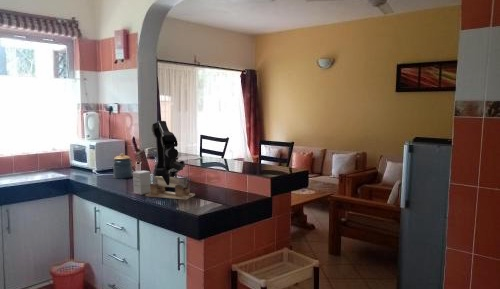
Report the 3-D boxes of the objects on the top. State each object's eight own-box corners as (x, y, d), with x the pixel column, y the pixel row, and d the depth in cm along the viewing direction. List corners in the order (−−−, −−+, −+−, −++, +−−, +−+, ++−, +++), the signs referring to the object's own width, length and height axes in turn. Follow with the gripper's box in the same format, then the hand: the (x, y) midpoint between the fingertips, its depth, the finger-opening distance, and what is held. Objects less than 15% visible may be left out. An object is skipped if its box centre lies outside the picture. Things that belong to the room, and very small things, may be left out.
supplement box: (144, 191, 222) (143, 170, 221) (151, 192, 218) (150, 171, 216) (133, 193, 217) (132, 171, 215) (140, 194, 212) (139, 173, 211)
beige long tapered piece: (155, 192, 217) (155, 180, 217) (195, 195, 209) (194, 183, 208) (145, 196, 208) (144, 184, 207) (186, 199, 199) (185, 186, 199)
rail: (156, 184, 213) (156, 176, 213) (187, 186, 206) (187, 177, 206) (153, 185, 210) (152, 177, 209) (184, 188, 203) (183, 178, 202)
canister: (128, 178, 264) (127, 154, 262) (110, 178, 264) (109, 154, 262) (134, 175, 277) (133, 151, 275) (117, 175, 277) (116, 152, 275)
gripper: (172, 159, 195) (173, 188, 196) (190, 155, 212) (190, 182, 214) (154, 158, 199) (155, 187, 200) (173, 154, 216) (174, 181, 218)
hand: (169, 184), depth 208 cm, fingers closed on rail, 3 cm apart
